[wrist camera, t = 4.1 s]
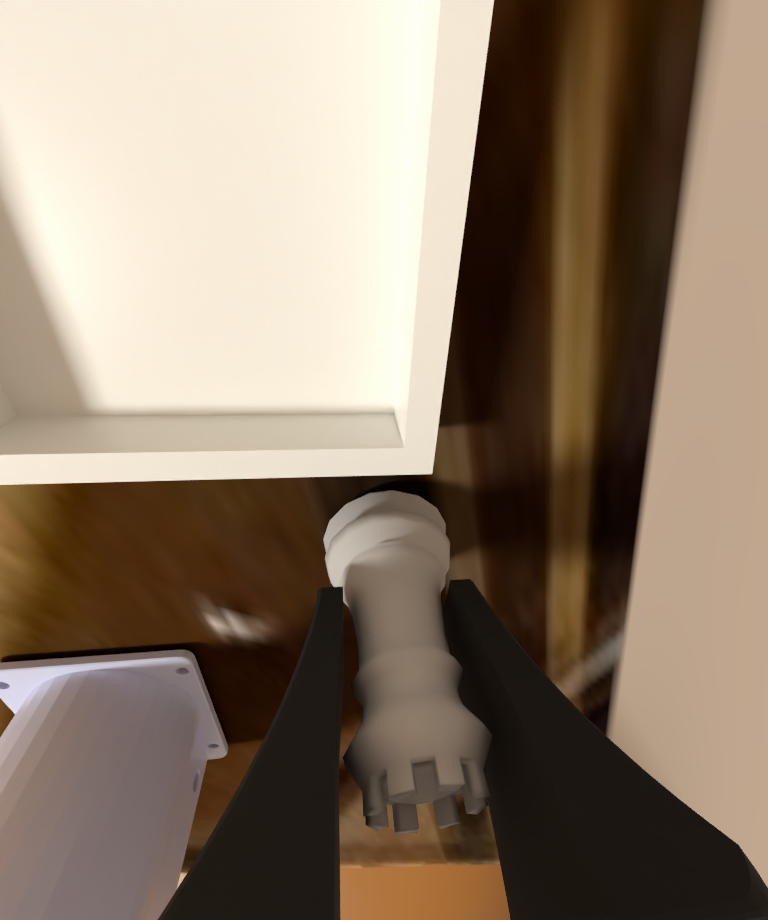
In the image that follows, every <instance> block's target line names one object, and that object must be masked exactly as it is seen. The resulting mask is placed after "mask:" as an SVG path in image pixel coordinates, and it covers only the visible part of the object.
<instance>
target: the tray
mask: <svg viewBox="0 0 768 920" xmlns="http://www.w3.org/2000/svg"><path fill="white" fill-rule="evenodd" d="M493 5H494V0H0V485H10V484H50V483H90V482H130V481H170V480H210V479H250V478H290V477H330V476H370V475H410V474H432V471H433V463H434V456H435V448H436V440H437V433H438V425H439V417H440V410H441V402H442V395H443V387H444V379H445V372H446V364H447V356H448V349H449V341H450V333H451V326H452V318H453V310H454V303H455V295H456V288H457V280H458V272H459V265H460V257H461V249H462V242H463V234H464V226H465V219H466V211H467V203H468V196H469V188H470V181H471V173H472V165H473V158H474V150H475V142H476V135H477V127H478V119H479V112H480V104H481V96H482V89H483V81H484V73H485V66H486V58H487V51H488V43H489V35H490V28H491V20H492V12H493Z"/></svg>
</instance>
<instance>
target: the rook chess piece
mask: <svg viewBox="0 0 768 920" xmlns="http://www.w3.org/2000/svg"><path fill="white" fill-rule="evenodd" d="M323 540H324V544H325V549H326V556H325V561H326V566H327V570H328V575H329V578H330V581H331V583H332V585H333V586H334V587H343V602H344V603H345V604H346V605H347V606H348V607H349V610H350V612H351V615H352V619H353V624H354V629H355V635H356V640H357V645H358V661H359V671H358V672H357V674H356V676H355V678H354V680H353V682H352V684H351V685H352V690H353V695H354V697H355V698H356V699H357V700H358V701H359V702H360V703H361V704H362V707H363V714H362V724H361V725H360V727H359V729H358V731H357V733H356V735H355V736H354V738H353V740H352V742H351V744H350V746H349V747H348V749H347V751H346V753H345V755H344V756H343V760H344V763H345V767H346V770H347V772H348V773H349V774H350V776H351V777H352V779H353V780H354V781H355V783H356V784H357V786H358V787H359V789H360V790H361V791H362V793H363V816H366V825H367V826H369V827H371V828H373V829H375V830H376V831H378V830H381V829H383V828H385V827H388V816H387V805H392V808H393V819H394V829H395V834H396V833H417V831H418V829H419V825H418V818H417V810H416V805H417V804H424V803H430V802H433V805H434V811H435V817H436V823H437V826H438V828H439V829H441V828H445V827H448V826H451V825H455V824H458V823H461V822H460V818H459V813H458V808H457V803H456V798H455V795H457V794H458V793H460V792H462V794H463V799H464V803H465V808H466V813H467V814H479V813H480V812H481V811H482V810H483V809H484V808H485V807H487V806H488V802H487V798H486V797H487V796H490V793H489V789H488V785H487V782H486V778H485V774H484V770H483V769H484V766H485V762H486V759H487V756H488V752H489V749H490V745H491V739H492V734H491V732H490V731H489V730H488V729H487V728H486V726H485V725H484V724H483V723H482V722H481V721H480V720H479V719H478V718H477V717H476V716H475V715H474V714H472V713H471V712H470V711H469V710H468V709H467V708H466V707H465V706H464V705H463V704H462V701H461V699H460V696H459V691H458V688H459V685H460V683H461V681H462V671H463V668H462V667H461V665H460V664H459V663H458V661H457V660H456V659H455V658H454V657H453V656H452V655H450V651H449V647H448V643H447V639H446V636H445V630H444V621H443V612H442V604H441V591H442V589H443V588H444V586H445V575H446V573H447V571H448V569H449V561H450V541H449V539H448V537H447V536H446V524H445V522H444V520H443V518H442V516H441V515H440V513H439V511H438V509H437V508H436V507H435V506H433V505H432V504H430V503H429V502H427V501H426V500H424V499H423V498H421V497H420V496H417V495H412V494H408V493H403V492H398V491H394V490H388V491H380V492H371V493H368V494H366V495H364V496H362V497H360V498H358V499H355V500H353V501H351V502H349V503H348V504H346V505H345V506H344V507H343V508H342V509H341V510H340V511H339V512H338V513H337V514H336V515H335V516H334V517H333V518H332V519H331V520H330V521H329V524H328V527H327V530H326V533H325V536H324V539H323ZM386 804H387V805H386Z"/></svg>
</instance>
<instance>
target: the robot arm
mask: <svg viewBox="0 0 768 920" xmlns="http://www.w3.org/2000/svg"><path fill="white" fill-rule="evenodd" d="M443 621H444V630H445V636H446V639H447V643H448V647H449V651H450V655H452V656H453V657H454V658H455V659H456V660H457V661H458V663H459V664H460V665H461V667H462V668H463V671H462V681H461V683H460V685H459V688H458V691H459V695H460V698H461V701H462V704H463V705H464V706H465V707H466V708H467V709H468V710H469V711H470V712H471V713H472V714H474V715H475V716H476V717H477V718H478V719H479V720H480V721H481V722H482V723H483V724H484V725H485V726H486V728H487V729H488V730H489V731H490V732H491V734H492V739H491V745H490V749H489V752H488V756H487V759H486V762H485V766H484V769H483V770H484V774H485V778H486V782H487V785H488V789H489V793H490V796H487V800H488V805H489V810H490V815H491V819H492V824H493V829H494V834H495V839H496V844H497V849H498V854H499V859H500V865H501V869H502V875H503V880H504V885H505V891H506V896H507V901H508V907H509V912H510V919H511V920H768V888H767V886H766V885H765V883H764V882H763V880H762V878H761V877H760V875H759V874H758V872H757V871H756V869H755V868H754V866H753V865H752V864H751V862H750V861H749V859H748V858H747V856H746V855H745V854H744V852H743V851H742V849H741V848H740V847H739V845H738V844H736V843H735V842H734V841H733V840H731V839H730V838H728V837H727V836H726V835H725V834H723V833H722V832H721V831H719V830H718V829H717V828H715V827H714V826H713V825H712V824H710V823H709V822H708V821H706V820H705V819H704V818H702V817H701V816H700V815H699V814H697V813H696V812H695V811H693V810H692V809H691V808H689V807H688V806H687V805H686V804H684V803H683V802H682V801H681V800H679V799H678V798H677V797H676V796H674V795H673V794H672V793H671V792H670V791H668V790H667V789H666V788H665V787H664V786H662V785H661V784H660V783H658V781H656V780H655V779H654V778H653V777H652V776H650V775H649V774H648V773H647V772H646V771H644V770H643V769H642V768H641V767H640V766H639V765H638V764H637V763H635V762H634V761H633V760H632V759H631V758H630V757H629V756H628V755H627V754H625V753H624V752H623V751H622V750H621V749H620V748H619V747H618V746H616V745H615V744H614V743H613V742H612V741H611V740H610V739H609V738H607V737H606V736H605V735H604V734H603V733H602V732H601V731H600V730H599V729H598V728H597V727H596V726H595V725H594V724H593V723H592V722H591V721H590V720H589V719H587V718H586V717H585V716H584V715H583V714H582V713H581V712H580V711H579V710H578V709H577V708H576V707H575V706H574V705H573V704H572V703H571V702H570V701H569V699H568V698H567V697H566V696H565V695H564V694H563V693H562V692H561V691H560V690H559V689H558V688H557V687H556V686H555V685H554V684H553V683H552V681H551V680H550V679H549V678H548V677H547V676H546V675H545V674H544V672H543V671H542V670H541V669H540V668H539V667H538V666H537V665H536V663H535V662H534V661H533V660H532V659H531V658H530V656H529V655H528V654H527V653H526V652H525V650H524V649H523V648H522V647H521V645H520V644H519V643H518V642H517V641H516V639H515V638H514V637H513V636H512V634H511V633H510V632H509V631H508V629H507V628H506V627H505V625H504V624H503V623H502V622H501V620H500V619H499V618H498V616H497V615H496V614H495V612H494V611H493V610H492V608H491V607H490V605H489V604H488V603H487V601H486V600H485V598H484V597H483V596H482V594H481V593H480V591H479V590H478V589H477V587H476V586H475V584H474V583H473V581H471V580H470V579H464V580H450V584H449V589H448V594H447V599H446V605H445V610H444V615H443ZM344 669H345V661H344V610H343V587H327V588H321V589H320V590H318V594H317V601H316V605H315V610H314V614H313V618H312V621H311V625H310V628H309V631H308V635H307V638H306V640H305V643H304V646H303V649H302V652H301V655H300V657H299V660H298V663H297V666H296V668H295V671H294V673H293V675H292V678H291V680H290V683H289V685H288V687H287V690H286V692H285V695H284V697H283V699H282V702H281V704H280V706H279V708H278V711H277V713H276V715H275V717H274V719H273V721H272V723H271V726H270V728H269V730H268V732H267V734H266V736H265V738H264V740H263V742H262V744H261V746H260V748H259V750H258V752H257V754H256V755H255V757H254V759H253V761H252V763H251V765H250V767H249V769H248V771H247V773H246V775H245V776H244V778H243V780H242V782H241V784H240V786H239V787H238V789H237V791H236V793H235V795H234V796H233V798H232V800H231V802H230V803H229V805H228V807H227V808H226V810H225V812H224V813H223V815H222V817H221V819H220V820H219V822H218V824H217V825H216V827H215V829H214V830H213V832H212V834H211V836H210V837H209V839H208V841H207V842H206V844H205V846H204V847H203V849H202V851H201V852H200V854H199V856H198V857H197V859H196V860H195V862H194V864H193V865H192V867H191V868H190V870H189V871H188V873H187V875H186V876H185V878H184V879H183V881H182V883H181V884H180V886H179V887H178V889H177V885H178V881H179V877H180V873H181V868H182V864H183V860H184V856H185V851H186V847H187V843H188V839H189V835H190V830H191V826H192V822H193V818H194V813H195V809H196V805H197V801H198V797H199V792H200V788H201V784H202V780H203V776H204V771H205V767H206V763H207V759H217V758H222V757H224V756H225V755H226V754H227V750H228V744H227V742H226V739H225V736H224V734H223V731H222V728H221V726H220V723H219V720H218V718H217V715H216V712H215V709H214V707H213V704H212V701H211V699H210V696H209V693H208V691H207V688H206V685H205V682H204V680H203V677H202V674H201V672H200V669H199V666H198V664H197V661H196V658H195V656H194V654H193V653H192V652H190V651H188V650H167V651H153V652H139V653H126V654H112V655H98V656H84V657H71V658H57V659H43V660H29V661H16V662H2V663H0V698H1V699H2V700H3V702H4V703H5V704H6V705H7V706H8V707H9V708H10V709H11V710H12V711H13V712H14V713H15V716H14V717H13V719H12V720H11V722H10V724H9V725H8V727H7V728H6V730H5V731H4V733H3V734H2V736H1V737H0V920H340V853H339V751H340V735H341V719H342V702H343V686H344ZM176 889H177V890H176Z"/></svg>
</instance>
